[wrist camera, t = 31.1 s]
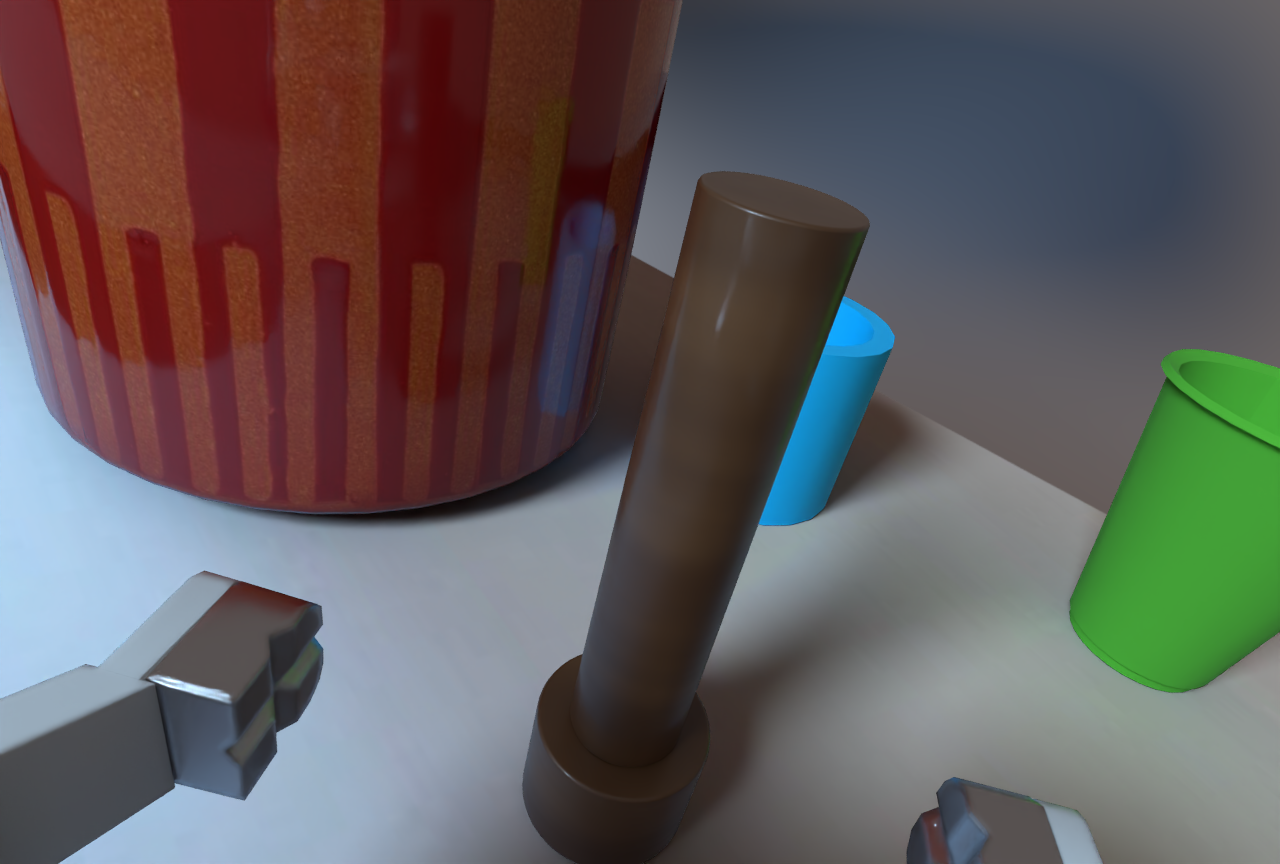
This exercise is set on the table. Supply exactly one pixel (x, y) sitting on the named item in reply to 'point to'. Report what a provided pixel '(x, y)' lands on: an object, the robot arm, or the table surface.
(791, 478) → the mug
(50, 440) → the table surface
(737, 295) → the pestle
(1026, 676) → the table surface
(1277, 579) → the cup
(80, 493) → the table surface
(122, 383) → the planter
